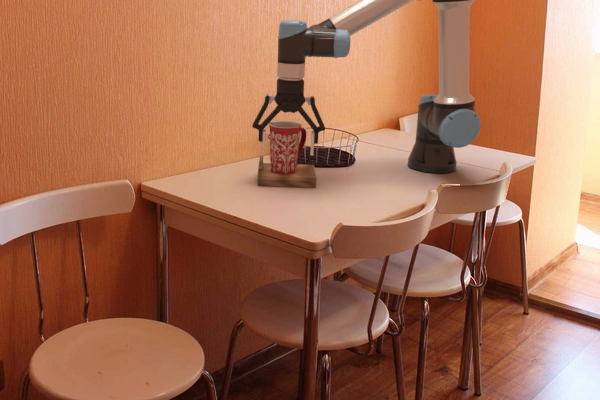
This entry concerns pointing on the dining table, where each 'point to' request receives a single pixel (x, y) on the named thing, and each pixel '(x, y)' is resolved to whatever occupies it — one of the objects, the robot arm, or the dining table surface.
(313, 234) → the dining table surface
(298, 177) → the dock
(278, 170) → the mug
